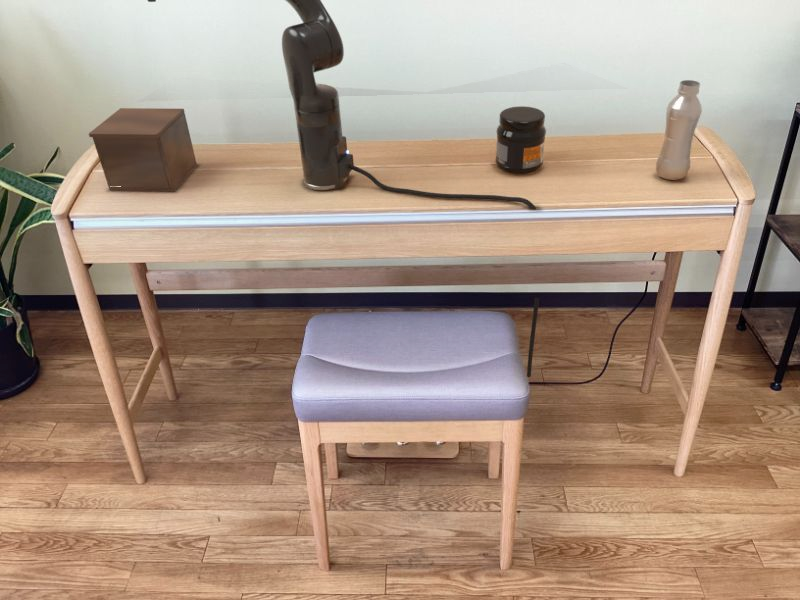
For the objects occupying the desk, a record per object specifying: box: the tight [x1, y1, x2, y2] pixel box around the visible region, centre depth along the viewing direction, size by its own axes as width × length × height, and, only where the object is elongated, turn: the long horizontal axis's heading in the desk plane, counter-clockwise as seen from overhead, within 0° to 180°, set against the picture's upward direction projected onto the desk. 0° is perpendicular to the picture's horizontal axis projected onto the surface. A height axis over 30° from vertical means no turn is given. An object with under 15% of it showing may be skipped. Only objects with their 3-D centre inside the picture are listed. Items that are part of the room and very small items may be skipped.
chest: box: [91, 112, 198, 193], centre depth 150 cm, size 14×15×13 cm
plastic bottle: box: [655, 79, 703, 181], centre depth 138 cm, size 6×7×20 cm
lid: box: [88, 107, 185, 138], centre depth 146 cm, size 14×15×1 cm
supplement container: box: [494, 105, 547, 175], centre depth 147 cm, size 10×10×12 cm
